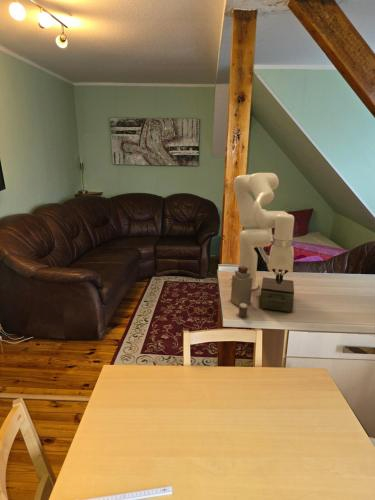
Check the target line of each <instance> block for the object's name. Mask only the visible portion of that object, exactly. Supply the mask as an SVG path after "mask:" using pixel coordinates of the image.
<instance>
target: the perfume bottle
mask: <svg viewBox="0 0 375 500" xmlns="http://www.w3.org/2000/svg"><path fill="white" fill-rule="evenodd" d="M247 270H248V268H246V267H244V266H241V267H239V266H238V267H237V270H234V274H232V276H231V277H232V280H231V290H230V291H231V293H230V302H231V303H232V304H234V305H236V306H237V307H239V306H240V304H241V303H245V304H247V306H249V305H251V303H252V302H251V300H252V291H253V290H252V277H250V274H251V273H250V272H248V271H247Z"/></svg>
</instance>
